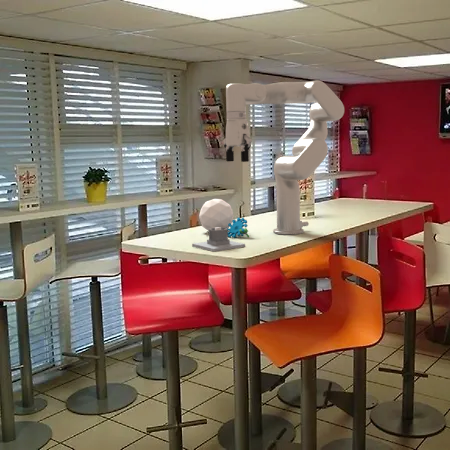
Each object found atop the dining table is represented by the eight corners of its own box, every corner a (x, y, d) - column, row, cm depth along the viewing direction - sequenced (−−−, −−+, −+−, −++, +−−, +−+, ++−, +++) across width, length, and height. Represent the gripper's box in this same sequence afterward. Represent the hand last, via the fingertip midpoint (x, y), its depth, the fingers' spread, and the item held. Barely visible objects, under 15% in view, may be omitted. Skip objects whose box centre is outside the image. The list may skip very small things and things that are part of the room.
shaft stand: (223, 241, 227) (222, 223, 226) (245, 246, 216) (244, 227, 215) (192, 246, 219) (191, 227, 218) (213, 251, 208) (212, 231, 207)
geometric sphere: (223, 245, 250) (227, 219, 239) (191, 231, 253) (194, 206, 243) (237, 224, 259) (241, 199, 249) (206, 212, 263) (209, 186, 252)
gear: (220, 232, 240) (235, 213, 243) (227, 241, 244) (242, 222, 246) (236, 239, 232) (252, 220, 234) (244, 248, 235) (259, 229, 238)
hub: (220, 237, 222) (220, 227, 221) (231, 239, 217) (231, 229, 216) (205, 239, 218) (205, 228, 218) (215, 242, 213) (215, 231, 212)
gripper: (258, 115, 222) (258, 161, 225) (231, 117, 236) (232, 160, 239) (242, 115, 218) (242, 162, 220) (215, 117, 232) (216, 161, 235)
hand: (237, 161), depth 230 cm, fingers open, 9 cm apart
